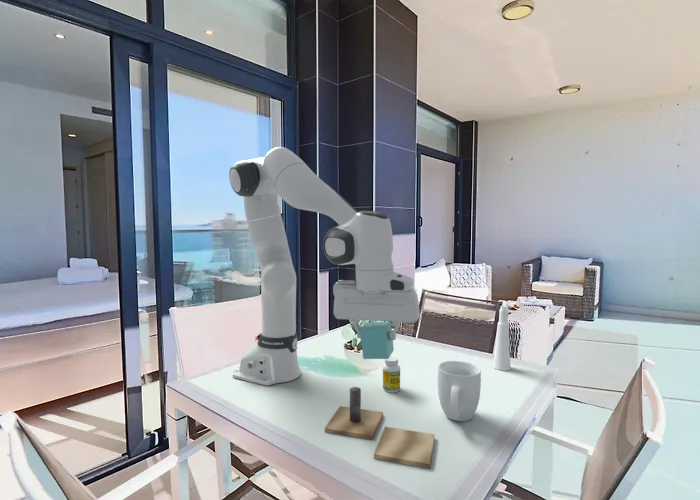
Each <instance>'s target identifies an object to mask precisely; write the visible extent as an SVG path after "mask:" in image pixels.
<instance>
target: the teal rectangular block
mask: <svg viewBox="0 0 700 500" xmlns="http://www.w3.org/2000/svg"><path fill="white" fill-rule="evenodd" d="M389 331H393V330H392V322H390V321H369V322H368V321H367V322H366V323H365V324H364V325H363V326H362V327H361V329H360V335H361V338H360V342H361V343H360V344H361V350H362V359H363V360H385V359H389V357H391V355H392V354H393V352H394V350H395V348H394V340H389V339H388V337H389V336H388V333H389Z"/></svg>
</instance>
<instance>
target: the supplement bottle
mask: <svg viewBox="0 0 700 500" xmlns="http://www.w3.org/2000/svg"><path fill="white" fill-rule="evenodd" d="M382 389H383V391H384V392H387V393H397V392H399V391H400V389H401V366H400V365H399V359H398V358H397V357H396V356H390V357H389V359H384V365H383V366H382Z"/></svg>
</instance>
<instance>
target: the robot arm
mask: <svg viewBox="0 0 700 500" xmlns="http://www.w3.org/2000/svg"><path fill="white" fill-rule="evenodd" d="M228 174H229V175H228V176H229V177H228V178H229V183H230V186H231V189H232V190H233V192H234V193H235V194H236V195H238V196H239V197H243V207H244V214H245V220H246V223H247V226H248V231H249V235H250V240H251V243H252V246H253V249H254V253H255V257H256V259H257V263H258V266H259V270H260V295H261V299H260V300H261V332H260V333H259V334H257V335H256V336H255V337H254V341H257V343H256V344H255V345H254V346H253V347H251V348H250V349H249V350H247V351H246V352H245V353H244V354H243V355H242V357H241V359H240V362H239V363H240V364H239V366H238V367H237V368H236V369H235V370H234V371H233V373H232V378H234V379H239V380H243V381H246V382H250V383H254V384H257V385H262V386H272V385H275V384H281V383H287V382H291V381H294V380H296V379H297V378H299V377H300V376H301V373H302V371H301V369H300V365H299V360H298V351H297V349H298V332H297V331H296V329H297V324H296V319H297V317H296V311H297V308H296V307H297V274H296V271H295V268H294V265H293V260H292V255H291V251H290V246H289V243H288V238H287V234H286V229H285V225H284V220H283V217H282V214H281V210H280V206H279V203H278V197H280V198H281V199H282V200H283V201H284V202H285V203H286V204H288V205H289V206H291V207H292V208H295V209H298V210H302V211H309V212H314V213H318V214H322V215H326V216H328V218H329V217H330V218H331V219H332V220H333V221H334V222H336V223H337V224H338V225H337V226H334V227H331V228H329V229H328V230H327V232H326V233H325V235H324V237H323V241H322V248H323V252H324V256H325V257H326V259H327V260H328V261H329V262H330V263H332V264H333V265H338V266H346V265H355V279H351V280H348V279H347V280H346V279H345V280H344V279H339V280H338V281H337V282H335V283H334V284H333V287H332V290H333V291H332V293H333V296H334V300H333V315H334V317H335V319H336V320H351V324H352V326H353V328H354V330H355V331H356V337H357V339H361V335H360V329H361V328H362V327H361V325H360V322H361V321H369V322H391V323H392V326H393V327H394V328H393V330H392V331H389V333H388V336H389V337H388V339H389V340H393V341H396V340H397V339H396V338H397V331H398V329H399V327H400V325H401V323H413V324H414V323H417V321H418V320H419V319H420V314H421V313H420V312H421V311H420V304H419V303H420V301H419V299H418V297H419V296H418V293H417V292H416V290H415V289H414V288H413V287H414V279H413V277H411V276H407V275H405V274H404V275H403V274H401V273H399V272H395V271H394V270H395V269H394V263H393V259H392V258H393V257H392V255H393V250H394V240H393V239H394V238H393V229H392V223H391V220H390V218H389V216H388V215H387V214H385V213H384V212H381V211H377V210H376V211H375V210H374V211H373V210H360V211H358V210H357V209H356V208H355V207H354V206H353V205H352V204H351V203H350V202H349V201H348V200H347V199H345V198H344V197H343V196H342V195H341V194H340V193H339V192H337V191H336V190H335V189H334V188H332V187H331V186H330V185H328V184H327V183H326V182H324V181H323V180H322V179H321V178H320V177H319V176H318V175H317V174H316V173H315V172H314V171H313V170H312V169H311V168H310V167H309V165H308V164H306V162H305V161H304V160H303V159H302V158H300V157H299V156H298V155H297V154H295V153H294V152H293V151H292V150H290V149H289V148H287V147H283V146H277V147H274V148H271V149H270V150H269V151H267V153H266V154H265V156H262V157H257V158H252V159H248V160H247V159H243V160H240V161H236V162H235V163H233V164H232V165H231V167H230V169H229V173H228Z"/></svg>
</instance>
